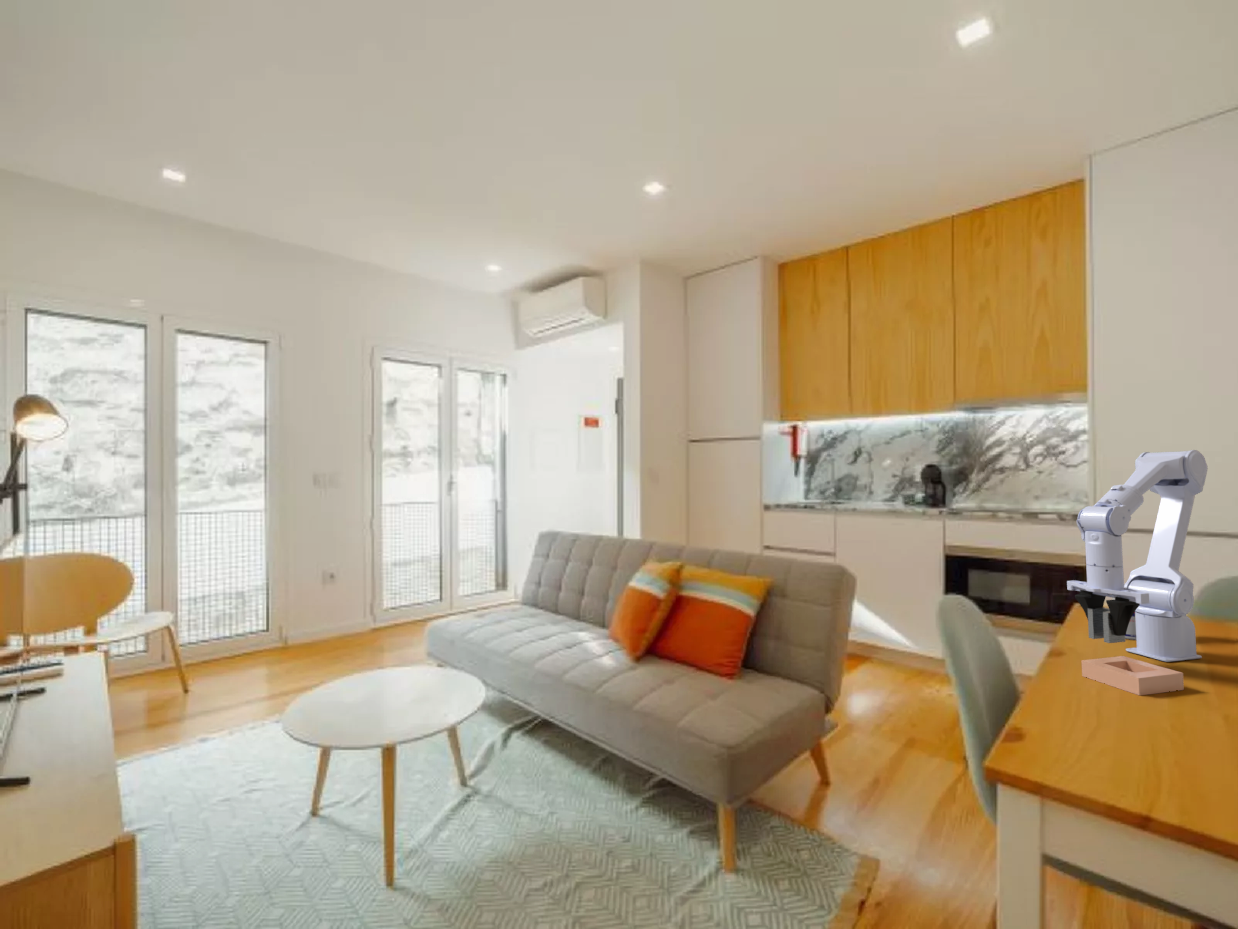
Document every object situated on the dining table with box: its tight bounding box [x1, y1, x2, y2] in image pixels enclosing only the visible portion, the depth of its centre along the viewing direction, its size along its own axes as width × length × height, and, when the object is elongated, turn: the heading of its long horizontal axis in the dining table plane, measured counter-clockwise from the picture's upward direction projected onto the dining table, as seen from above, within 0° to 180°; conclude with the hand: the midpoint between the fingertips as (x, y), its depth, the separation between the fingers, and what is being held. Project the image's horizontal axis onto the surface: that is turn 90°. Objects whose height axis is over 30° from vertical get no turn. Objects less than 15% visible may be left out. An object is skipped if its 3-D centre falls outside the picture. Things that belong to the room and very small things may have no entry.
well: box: [1081, 655, 1185, 696], centre depth 104 cm, size 10×10×3 cm
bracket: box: [1087, 606, 1126, 644], centre depth 114 cm, size 4×4×6 cm
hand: (1107, 632), depth 114 cm, fingers closed on bracket, 4 cm apart
